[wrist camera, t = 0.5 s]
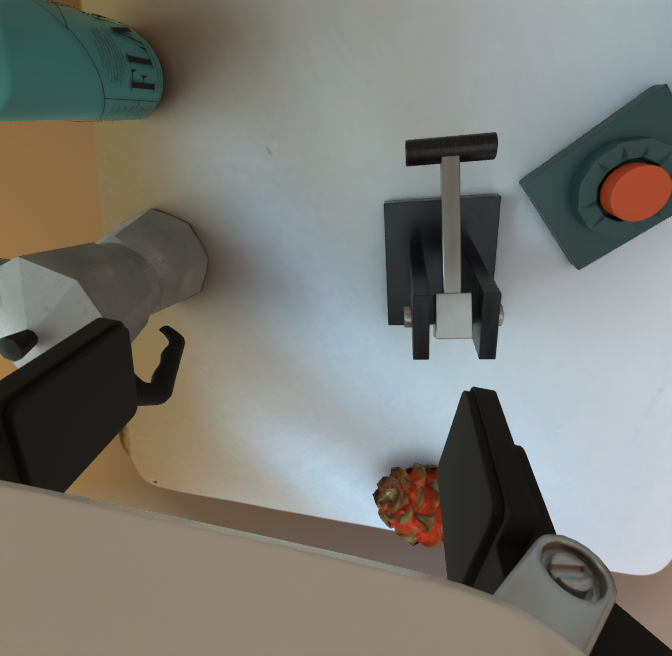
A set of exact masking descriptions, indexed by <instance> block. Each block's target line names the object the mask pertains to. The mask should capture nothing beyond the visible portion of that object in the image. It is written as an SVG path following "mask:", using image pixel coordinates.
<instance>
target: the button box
mask: <svg viewBox="0 0 672 656" xmlns="http://www.w3.org/2000/svg"><path fill="white" fill-rule="evenodd" d="M634 162H640V163H646V164H651V165H656V166H659V167H661V168H663V169H664V170H666V171H667V172H668V174H669V175H670V178H671V181H672V94H671V92H670V90H669V88H668V86H667V84H663V85H655V86H652V87H650V88H649V89H648V90H646V91H645V92H643V93H642V94H641V95H639V96H638V97H636V98H635V99H634V100H632V101H631V102H629V103H628V104H627V105H625V106H624V107H622V108H621V109H620V110H618V111H617V112H615V113H614V114H613V115H611V116H610V117H608V118H607V119H606V120H604V121H603V122H601V123H600V124H599V125H597V126H596V127H594V128H593V129H592V130H590V131H589V132H587V133H586V134H585V135H583V136H582V137H580V138H579V139H578V140H576V141H575V142H573V143H572V144H571V145H569V146H568V147H566V148H565V149H564V150H562V151H561V152H559V153H558V154H557V155H555V156H554V157H552V158H551V159H550V160H548V161H547V162H545V163H544V164H543V165H541V166H540V167H538V168H537V169H536V170H534V171H533V172H531V173H530V174H529V175H527V176H526V177H524V178H523V179H522V180H520V181H519V183H520V184H521V186H522V187H523V189H524V191H525V192H526V194H527V195H528V197H529V198H530V200H531V202H532V203H533V205H534V206H535V208H536V209H537V211H538V213H539V214H540V216H541V217H542V219H543V220H544V222H545V224H546V225H547V227H548V228H549V230H550V231H551V233H552V234H553V236H554V238H555V239H556V241H557V242H558V244H559V245H560V247H561V249H562V250H563V252H564V253H565V255H566V256H567V258H568V260H569V261H570V263H571V264H572V265H573V266H574V267H575V268H577V269H578V270H580V269H582V268H584V267H585V266H587V265H589V264H590V263H592V262H594V261H596V260H597V259H599V258H601V257H602V256H604V255H606V254H607V253H609V252H611V251H613V250H614V249H616V248H618V247H619V246H621V245H623V244H624V243H626V242H628V241H630V240H631V239H633V238H635V237H636V236H638V235H640V234H641V233H643V232H645V231H647V230H648V229H650V228H652V227H653V226H655V225H657V224H659V223H660V222H662V221H664V220H665V219H667V218H669V217H670V216H672V190H671V194H670V197H669V199H668V201H667V202H666V204H665V205H664V206H663V207H662V208H661V209H660V210H659V211H658V212H657V213H656V214H654V215H653V216H651V217H649V218H646V219H644V220H640V221H625V220H622V219H620V218H618V217H616V216H614V215H612V214H610V213H608V212H607V211H606V210H605V209H604V208H603V207H602V204H601V201H600V192H601V188H602V185H603V183H604V181H605V180H606V178H607V177H608V176H609V175H610V174H611V173H612V172H613V171H614V170H616V169H617V168H619V167H621V166H623V165H625V164H628V163H634Z"/></svg>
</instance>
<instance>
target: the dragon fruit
mask: <svg viewBox="0 0 672 656" xmlns="http://www.w3.org/2000/svg"><path fill="white" fill-rule="evenodd" d="M427 469H429V470H428V471H426V470H427ZM437 471H438V468H437V466H435V465H431V466H429V465H427V466H424V467H423V466H422V465H421V464H418V463H414V465H413V468H409V469H408V468H406V470H404V469H402V468H399V467H393V468H392V469H391V474H390V477H382V479H381V480H379V482H378V483H377V486H378V489H377V490H376V491H375V492H374V494H373V496H374V500H375V503H376V505H377V507H378V508H379V511H378V514H379V516H380V518H381V519H382V521H383V522H384V523H385V524H386V525H387V526H388V527H389V528H395V532H396V534H397V535H399V536H400V537H402V538H403V539H405V540H406V541H408V542H409V543H410V544H411V545H413V546H415V545H416V544H418V543H421V544H423V545H424V546H426V547H439V546H441V545H442V544H444V539H443V530H442V520H441V510H440V500H439V490H438V481H437Z"/></svg>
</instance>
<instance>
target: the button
mask: <svg viewBox="0 0 672 656" xmlns="http://www.w3.org/2000/svg"><path fill="white" fill-rule="evenodd" d="M671 190H672V181H671V178H670V175H669V174H668V172H667V171H666V170H664V169H663V168H661V167H659V166H656V165H651V164H646V163H640V162H634V163H628V164H625V165H623V166H621V167H619V168H617V169H616V170H614V171H613V172H612V173H611V174H610V175H609V176H608V177H607V178H606V180H605V181H604V183H603V185H602V188H601V192H600V201H601V204H602V207H603V208H604V209H605V210H606V211H607V212H608V213H610V214H612V215H614V216H616V217H618V218H620V219H622V220H625V221H640V220H644V219H646V218H649V217H651V216H653V215H654V214H656V213H657V212H658V211H659V210H660V209H661V208H662V207H663V206H664V205H665V204H666V202H667V201H668V199H669V197H670V194H671Z"/></svg>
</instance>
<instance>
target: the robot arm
mask: <svg viewBox="0 0 672 656" xmlns="http://www.w3.org/2000/svg"><path fill="white" fill-rule="evenodd" d="M137 406H138V402H137V393H136V385H135V376H134V367H133V358H132V349H131V340H130V332H129V329H128V328H127V327H125V326H124V324H123V322H121V321H118V320H113V319H108V318H102V317H99V318H97V319H95V320H93V321H92V322H90V323H89V324H87V325H86V326H84V327H83V328H81V329H79V330H78V331H76V332H75V333H73V334H72V335H70V336H69V337H67V338H65V339H64V340H62V341H61V342H59V343H58V344H56V345H55V346H53V347H51V348H50V349H48V350H47V351H45V352H44V353H42V354H41V355H39V356H37V357H36V358H34V359H33V360H31V361H30V362H28V363H26V364H25V365H23V366H22V367H20V368H19V369H17V370H16V371H14V372H12V373H11V374H9V375H8V376H6V377H5V378H3V379H2V380H0V656H672V650H671V649H669V647H667V646H666V645H665V644H664V643H662V642H661V641H660V640H659V639H658V638H657V637H655V636H654V635H653V634H652V633H651V632H650V631H648V630H647V629H646V628H645V627H644V626H642V625H641V624H640V623H639V622H638V621H636V620H635V619H634V618H633V617H632V616H631V615H629V614H628V613H627V612H626V611H625V610H623V609H622V608H621V607H620V606H619V605H617V604H616V603H615V600H616V595H617V589H616V585H615V581H614V579H613V577H612V575H611V573H610V571H609V569H608V568H607V567H606V565H605V564H604V563H603V562H602V561H601V559H600V558H599V557H598V556H597V555H595V554H594V553H593V552H592V551H591V550H590V549H588V548H587V547H586V546H584V545H582V544H581V543H579V542H577V541H576V540H574V539H571V538H568V537H566V536H563V535H556V532H555V529H554V527H553V524H552V521H551V519H550V516H549V513H548V511H547V508H546V505H545V503H544V500H543V498H542V495H541V492H540V490H539V487H538V484H537V482H536V479H535V476H534V474H533V471H532V468H531V466H530V463H529V460H528V458H527V455H526V453H525V451H524V449H523V448H522V447H521V446H518V445H515V444H514V441H513V439H512V436H511V433H510V430H509V427H508V425H507V422H506V419H505V416H504V413H503V410H502V408H501V405H500V402H499V399H498V396H497V393H496V392H495V391H494V390H489V389H483V388H478V387H472V388H471V390H470V391H463V393H462V395H461V398H460V401H459V404H458V407H457V410H456V413H455V416H454V419H453V423H452V426H451V429H450V432H449V435H448V438H447V441H446V444H445V447H444V450H443V453H442V456H441V459H440V462H439V465H438V471H437V481H438V490H439V500H440V510H441V520H442V530H443V539H444V549H445V558H446V567H447V568H446V569H447V578H448V580H447V579H443V578H440V577H436V576H433V575H429V574H426V573H421V572H417V571H413V570H409V569H405V568H401V567H397V566H392V565H388V564H384V563H379V562H376V561H371V560H367V559H363V558H359V557H355V556H350V555H346V554H341V553H337V552H332V551H327V550H323V549H319V548H314V547H310V546H305V545H301V544H297V543H292V542H288V541H283V540H279V539H274V538H269V537H265V536H260V535H256V534H252V533H247V532H243V531H238V530H234V529H229V528H224V527H220V526H215V525H210V524H206V523H201V522H197V521H192V520H188V519H182V518H178V517H174V516H169V515H165V514H160V513H155V512H151V511H146V510H141V509H137V508H132V507H127V506H123V505H118V504H113V503H109V502H104V501H99V500H94V499H90V498H85V497H80V496H75V495H71V494H66V493H64V492H65V491H66V490H67V489H68V488H69V487H70V486H71V484H72V483H73V482H74V481H75V480H76V479H77V478H78V477H79V476H80V474H81V473H82V472H83V471H84V470H85V469H86V468H87V467H88V466H89V464H91V462H92V461H93V460H94V459H95V458H96V457H97V456H98V454H100V453H101V451H102V450H103V449H104V448H105V447H106V446H107V445H108V444H109V443H110V442H111V440H112V439H113V438H114V437H115V436H116V435H117V434H118V433H119V432H120V431H121V430H122V428H123V427H124V426H125V425H126V424H127V423H128V422H129V421H130V420H131V419H132V417H133V416H134V415H135V413H136V410H137Z"/></svg>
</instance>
